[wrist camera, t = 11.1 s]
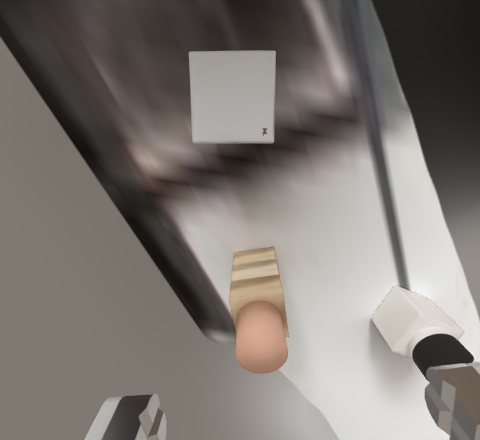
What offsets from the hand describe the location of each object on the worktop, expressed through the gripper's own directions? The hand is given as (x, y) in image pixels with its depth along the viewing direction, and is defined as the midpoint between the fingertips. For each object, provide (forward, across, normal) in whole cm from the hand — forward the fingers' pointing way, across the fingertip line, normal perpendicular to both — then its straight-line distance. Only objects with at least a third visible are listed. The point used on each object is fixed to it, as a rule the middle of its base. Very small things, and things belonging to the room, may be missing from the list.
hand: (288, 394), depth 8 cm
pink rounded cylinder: (+19, +2, +13) cm, 23 cm away
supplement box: (+31, +1, -10) cm, 33 cm away
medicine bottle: (+31, -20, +24) cm, 44 cm away
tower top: (+23, +2, +13) cm, 27 cm away
